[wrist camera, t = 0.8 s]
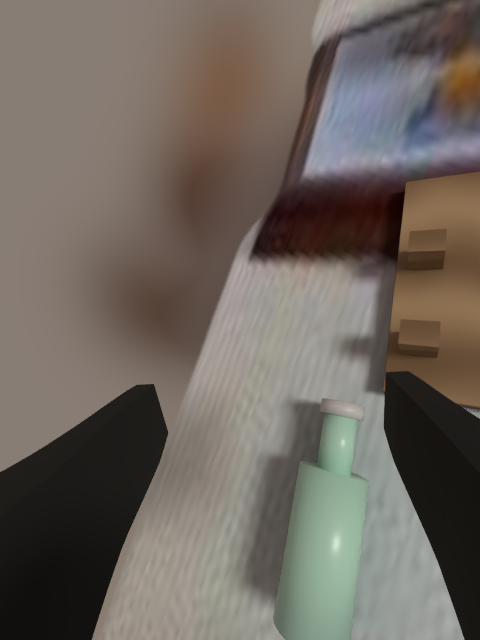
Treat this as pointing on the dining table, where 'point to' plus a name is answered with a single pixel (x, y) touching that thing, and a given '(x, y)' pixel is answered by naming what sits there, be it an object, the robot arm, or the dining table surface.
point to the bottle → (324, 535)
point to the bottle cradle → (439, 288)
